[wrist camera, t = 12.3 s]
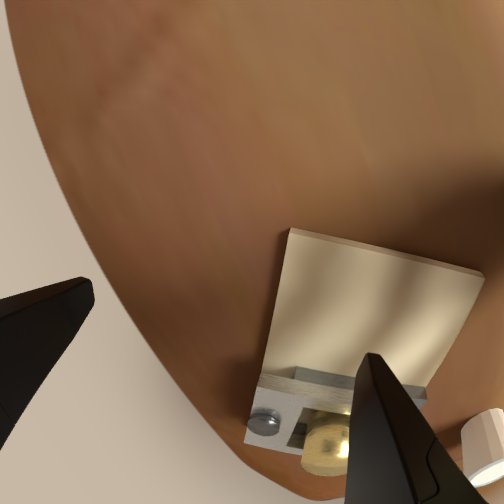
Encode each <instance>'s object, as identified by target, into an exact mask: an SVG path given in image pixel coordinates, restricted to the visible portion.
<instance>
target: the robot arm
mask: <svg viewBox="0 0 504 504" xmlns="http://www.w3.org/2000/svg"><path fill="white" fill-rule="evenodd" d="M94 302H95V298H94V293H93V286H92V282H91V280H90V279H87V278H84V277H77V278H73V279H70V280H66V281H63V282H59V283H55V284H52V285H49V286H45V287H41V288H38V289H34V290H31V291H27V292H24V293H20V294H17V295H13V296H10V297H7V298H3V299H0V450H1V448H2V447H3V445H4V443H5V441H6V440H7V438H8V436H9V435H10V433H11V431H12V430H13V428H14V426H15V424H16V423H17V421H18V420H19V418H20V416H21V415H22V413H23V412H24V410H25V409H26V407H27V405H28V404H29V402H30V401H31V399H32V398H33V396H34V395H35V393H36V392H37V390H38V388H39V387H40V385H41V384H42V383H43V381H44V380H45V378H46V377H47V375H48V374H49V372H50V371H51V369H52V368H53V367H54V365H55V364H56V362H57V361H58V360H59V358H60V357H61V355H62V354H63V353H64V351H65V350H66V348H67V347H68V346H69V344H70V343H71V342H72V340H73V339H74V337H75V335H76V334H77V332H78V331H79V329H80V327H81V325H82V324H83V322H84V320H85V319H86V317H87V316H88V314H89V312H90V311H91V309H92V307H93V306H94ZM344 504H489V503H487V502H486V501H485V500H484V499H483V497H482V496H481V495H480V494H479V493H478V491H477V490H476V489H475V487H474V486H473V485H472V484H471V482H470V481H469V480H468V479H467V477H466V476H465V475H464V474H463V472H462V471H461V470H460V468H459V467H458V466H457V465H456V463H455V462H454V461H453V459H452V458H451V457H450V455H449V454H448V452H447V451H446V449H445V448H444V446H443V445H442V443H441V442H440V440H439V439H438V437H436V434H435V433H434V431H433V430H432V428H431V427H430V425H429V424H428V422H427V421H426V419H425V418H424V416H423V415H422V413H421V412H420V410H419V409H418V407H417V406H416V405H415V403H414V402H413V400H412V399H411V397H410V396H409V394H408V393H407V391H406V390H405V389H404V387H403V386H402V384H401V383H400V381H399V380H398V379H397V377H396V376H395V374H394V373H393V371H392V370H391V369H390V367H389V366H388V364H387V363H386V362H385V360H384V359H383V357H382V356H381V355H380V354H377V353H371V352H368V353H366V354H365V356H364V358H363V360H362V362H361V364H360V366H359V368H358V371H357V373H356V377H355V385H354V393H353V400H352V407H351V414H350V422H349V444H348V464H347V479H346V491H345V502H344Z"/></svg>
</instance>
